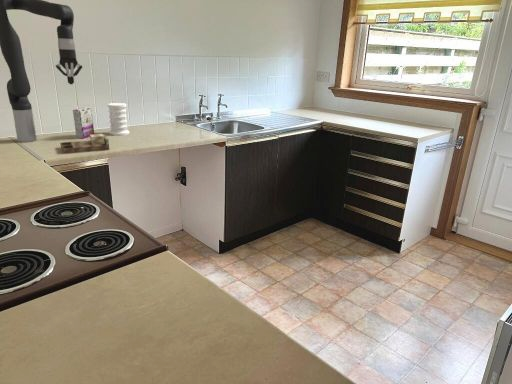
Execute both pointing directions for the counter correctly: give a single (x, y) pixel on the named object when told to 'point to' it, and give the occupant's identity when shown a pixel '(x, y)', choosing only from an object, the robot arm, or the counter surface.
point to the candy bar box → (83, 122)
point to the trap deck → (84, 146)
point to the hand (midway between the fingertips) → (71, 84)
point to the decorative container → (118, 119)
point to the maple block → (97, 139)
